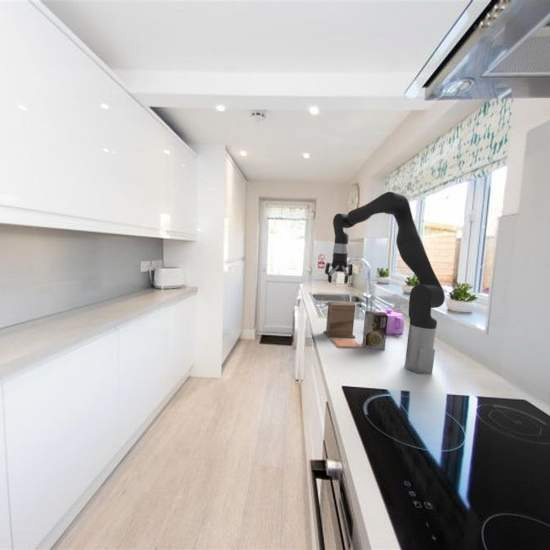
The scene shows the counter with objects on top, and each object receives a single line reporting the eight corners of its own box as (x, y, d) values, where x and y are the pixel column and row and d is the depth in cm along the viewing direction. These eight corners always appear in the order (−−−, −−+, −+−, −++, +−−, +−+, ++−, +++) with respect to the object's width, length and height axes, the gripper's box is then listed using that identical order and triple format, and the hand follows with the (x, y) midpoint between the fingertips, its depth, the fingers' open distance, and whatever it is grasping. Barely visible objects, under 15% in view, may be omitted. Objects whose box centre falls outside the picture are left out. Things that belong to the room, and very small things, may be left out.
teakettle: (403, 337, 158) (406, 314, 156) (369, 332, 164) (371, 310, 163) (403, 329, 173) (405, 308, 172) (372, 325, 180) (374, 304, 178)
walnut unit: (354, 338, 151) (358, 305, 149) (327, 337, 149) (330, 304, 147) (349, 333, 159) (352, 302, 157) (323, 332, 157) (326, 301, 155)
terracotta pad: (361, 348, 136) (362, 346, 136) (338, 347, 135) (338, 346, 135) (352, 340, 147) (352, 338, 147) (331, 339, 146) (331, 338, 146)
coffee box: (381, 345, 142) (385, 312, 141) (384, 350, 136) (388, 315, 134) (361, 343, 143) (365, 310, 142) (364, 348, 137) (367, 313, 135)
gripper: (329, 252, 154) (326, 283, 155) (356, 253, 155) (353, 284, 157) (325, 251, 161) (322, 281, 163) (350, 253, 163) (348, 282, 165)
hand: (337, 283), depth 160 cm, fingers open, 8 cm apart
